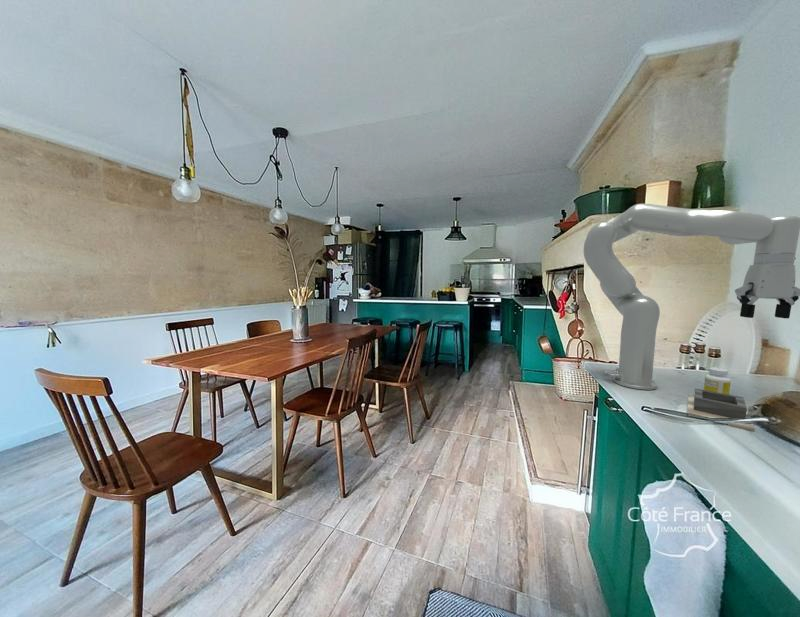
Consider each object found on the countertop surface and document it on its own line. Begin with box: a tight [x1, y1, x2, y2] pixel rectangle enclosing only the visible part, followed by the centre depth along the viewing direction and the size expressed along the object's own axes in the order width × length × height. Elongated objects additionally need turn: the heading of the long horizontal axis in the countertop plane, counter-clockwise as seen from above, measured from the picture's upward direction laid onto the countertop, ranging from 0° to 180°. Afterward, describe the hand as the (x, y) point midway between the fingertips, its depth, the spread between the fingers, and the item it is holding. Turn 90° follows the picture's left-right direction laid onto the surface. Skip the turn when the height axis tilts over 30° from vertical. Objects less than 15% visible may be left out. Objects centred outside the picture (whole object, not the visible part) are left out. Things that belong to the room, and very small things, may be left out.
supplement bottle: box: [703, 366, 731, 395], centre depth 91 cm, size 5×5×10 cm
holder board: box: [686, 388, 755, 432], centre depth 83 cm, size 16×12×4 cm
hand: (763, 317), depth 89 cm, fingers open, 9 cm apart
